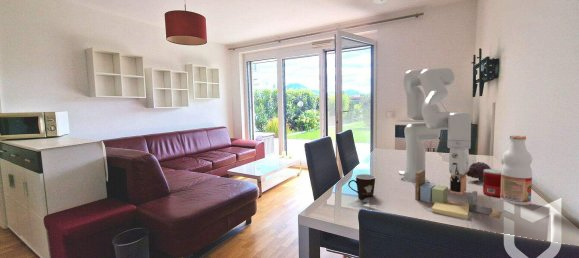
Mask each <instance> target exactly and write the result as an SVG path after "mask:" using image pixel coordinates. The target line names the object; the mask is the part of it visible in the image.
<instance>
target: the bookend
mask: <svg viewBox="0 0 579 258" xmlns="http://www.w3.org/2000/svg"><path fill="white" fill-rule="evenodd" d="M468 204H469V211H470V212H475V213H474V214H477V213H479V214H478V215H481V214H484V215H483V216H486V215H488V216H487V217H490V216H489V214H490V213H491V211H492V209H493V208H492V207H487V206H481V205H478V191H476V190H472V192H471V193H469V195H468Z"/></svg>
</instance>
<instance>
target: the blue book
mask: <svg viewBox="0 0 579 258" xmlns="http://www.w3.org/2000/svg"><path fill="white" fill-rule="evenodd" d="M436 185H437V184H436V183H435V184H434V183H429V182H428V183H425V184H423V185H421V186H420V200H422V201H421V202H423V201H427V202H426V203H428V202H431V201H432V188H433V187H435V186H436Z"/></svg>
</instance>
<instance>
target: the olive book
mask: <svg viewBox="0 0 579 258" xmlns="http://www.w3.org/2000/svg"><path fill="white" fill-rule="evenodd" d="M448 189H449V187H448V186H446V185H440V184H436V186H435V187H433V188H432V203H435V202H438V203H445V202H446V201H447V200H448V198H449V197H448V195H449V194H448V192H449V191H448ZM432 203H431V204H432Z"/></svg>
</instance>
